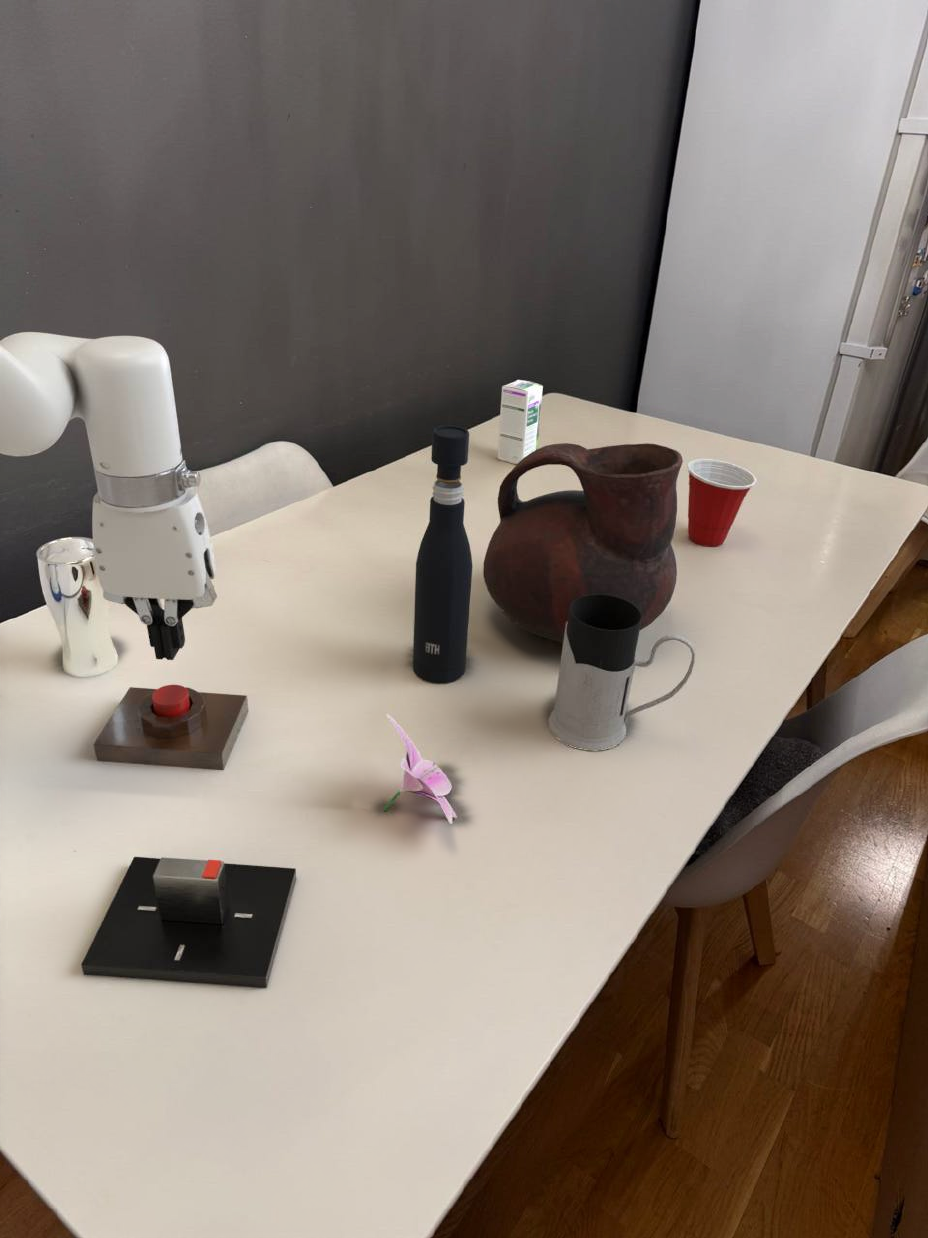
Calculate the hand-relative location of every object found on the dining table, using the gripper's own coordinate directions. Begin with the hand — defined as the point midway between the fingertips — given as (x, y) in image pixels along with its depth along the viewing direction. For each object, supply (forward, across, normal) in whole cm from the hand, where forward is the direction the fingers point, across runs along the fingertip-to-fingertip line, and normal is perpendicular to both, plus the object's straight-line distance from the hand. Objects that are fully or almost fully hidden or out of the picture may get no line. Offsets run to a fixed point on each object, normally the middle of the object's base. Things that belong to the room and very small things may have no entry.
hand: (169, 651), depth 89 cm
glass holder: (+12, -46, -6) cm, 48 cm away
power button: (+7, +1, 0) cm, 7 cm away
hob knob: (+8, -9, +25) cm, 28 cm away
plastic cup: (+12, -67, -59) cm, 90 cm away
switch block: (+10, +1, 0) cm, 11 cm away
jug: (+12, -43, -30) cm, 54 cm away
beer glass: (+10, +15, -12) cm, 22 cm away
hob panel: (+11, -9, +25) cm, 29 cm away
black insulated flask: (+11, -26, -16) cm, 33 cm away
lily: (+11, -26, +9) cm, 30 cm away
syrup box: (+12, -36, -90) cm, 98 cm away
